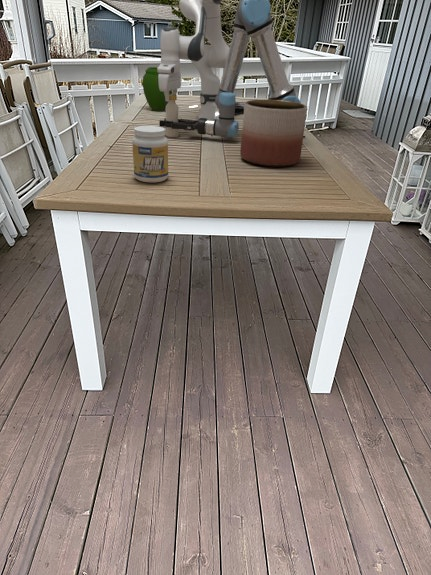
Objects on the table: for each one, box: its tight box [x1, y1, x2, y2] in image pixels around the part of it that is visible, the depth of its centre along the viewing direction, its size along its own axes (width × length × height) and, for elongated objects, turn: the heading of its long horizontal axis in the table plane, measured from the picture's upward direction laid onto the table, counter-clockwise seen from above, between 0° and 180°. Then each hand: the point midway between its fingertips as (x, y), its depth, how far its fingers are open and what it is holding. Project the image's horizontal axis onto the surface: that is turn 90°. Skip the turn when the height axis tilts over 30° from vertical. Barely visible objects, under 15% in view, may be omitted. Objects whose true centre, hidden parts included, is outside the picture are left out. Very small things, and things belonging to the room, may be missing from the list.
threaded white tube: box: [165, 100, 179, 138], centre depth 201 cm, size 6×6×18 cm
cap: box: [169, 94, 178, 101], centre depth 197 cm, size 4×4×2 cm
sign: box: [235, 101, 246, 114], centre depth 284 cm, size 19×3×30 cm
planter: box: [240, 99, 308, 168], centre depth 169 cm, size 25×25×22 cm
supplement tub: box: [131, 125, 169, 183], centre depth 142 cm, size 12×12×17 cm
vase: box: [141, 66, 173, 112], centre depth 261 cm, size 20×20×24 cm
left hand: (170, 100), depth 198 cm, fingers open, 7 cm apart
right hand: (162, 122), depth 204 cm, fingers closed on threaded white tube, 6 cm apart
